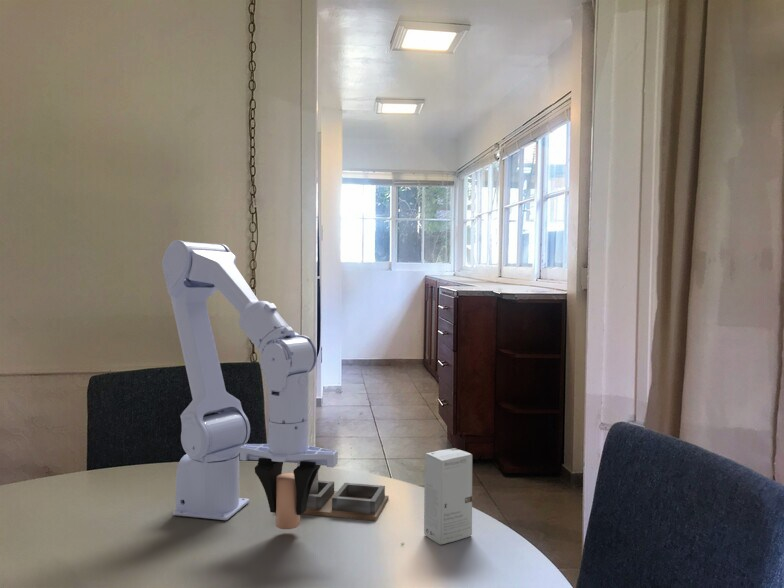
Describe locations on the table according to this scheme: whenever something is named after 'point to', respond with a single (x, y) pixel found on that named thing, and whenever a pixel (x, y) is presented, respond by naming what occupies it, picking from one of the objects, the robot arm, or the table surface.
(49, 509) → the table surface
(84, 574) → the table surface
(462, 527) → the skincare box
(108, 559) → the table surface
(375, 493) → the tube rack
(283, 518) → the terracotta tube
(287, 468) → the table surface
